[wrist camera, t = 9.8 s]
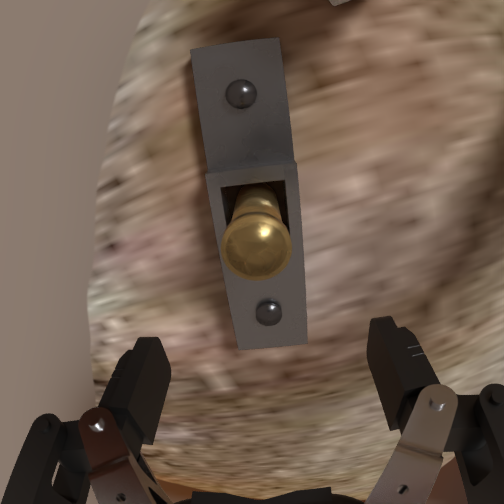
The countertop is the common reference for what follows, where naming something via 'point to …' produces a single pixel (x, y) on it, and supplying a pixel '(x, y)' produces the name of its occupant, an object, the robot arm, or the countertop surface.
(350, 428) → the countertop surface
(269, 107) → the link plates
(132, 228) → the countertop surface
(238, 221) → the link pin
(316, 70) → the countertop surface
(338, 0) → the ink box
